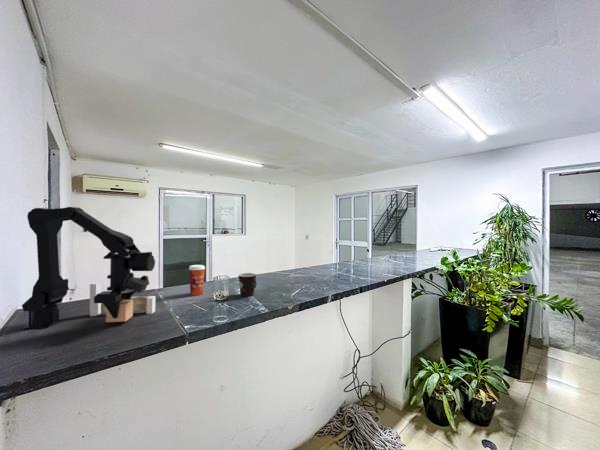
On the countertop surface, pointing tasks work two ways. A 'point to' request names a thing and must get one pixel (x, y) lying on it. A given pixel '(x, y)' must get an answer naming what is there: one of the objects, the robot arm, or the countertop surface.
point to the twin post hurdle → (96, 307)
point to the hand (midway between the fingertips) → (119, 315)
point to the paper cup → (196, 279)
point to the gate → (138, 303)
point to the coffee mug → (247, 284)
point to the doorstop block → (121, 312)
